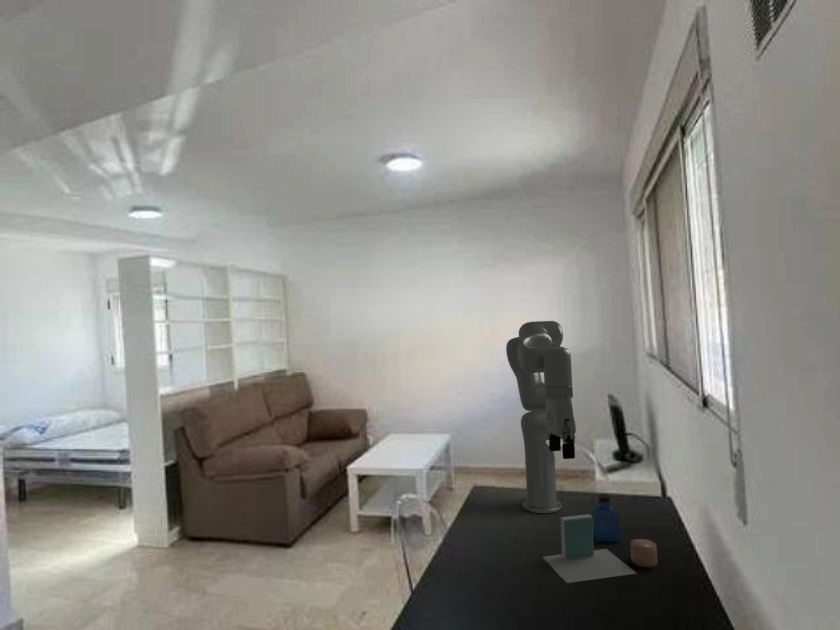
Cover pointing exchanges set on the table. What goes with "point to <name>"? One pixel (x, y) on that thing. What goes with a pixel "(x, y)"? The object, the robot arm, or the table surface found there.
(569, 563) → the mat
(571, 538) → the tile
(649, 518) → the table surface
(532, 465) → the robot arm
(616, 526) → the perfume bottle
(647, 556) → the brown rounded cylinder
